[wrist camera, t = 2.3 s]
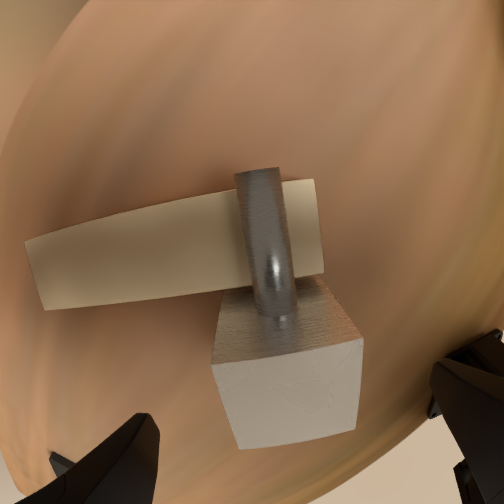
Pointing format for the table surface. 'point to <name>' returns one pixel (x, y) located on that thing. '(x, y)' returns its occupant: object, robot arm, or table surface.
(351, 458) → the table surface
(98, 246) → the pine board
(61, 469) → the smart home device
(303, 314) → the marking gauge
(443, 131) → the table surface
